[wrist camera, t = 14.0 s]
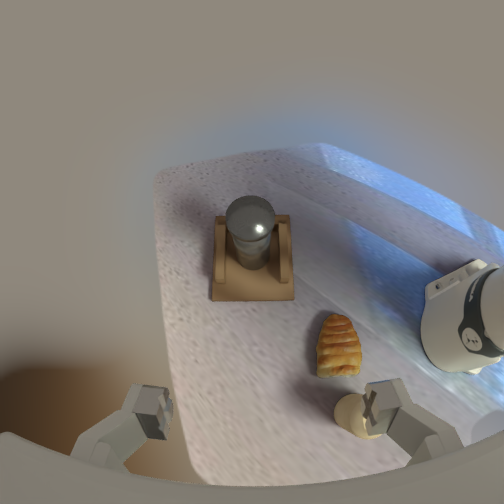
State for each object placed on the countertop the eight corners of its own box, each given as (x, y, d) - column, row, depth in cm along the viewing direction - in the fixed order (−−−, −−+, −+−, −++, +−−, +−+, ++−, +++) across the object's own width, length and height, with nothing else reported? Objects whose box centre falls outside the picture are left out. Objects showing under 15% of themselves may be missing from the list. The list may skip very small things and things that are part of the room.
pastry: (312, 317, 44) (317, 311, 40) (355, 314, 44) (363, 309, 40) (315, 380, 40) (320, 380, 37) (359, 375, 40) (368, 375, 36)
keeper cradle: (216, 218, 50) (213, 208, 47) (288, 217, 50) (290, 206, 47) (212, 301, 45) (209, 295, 42) (293, 300, 45) (296, 294, 42)
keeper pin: (260, 231, 48) (260, 188, 37) (279, 262, 46) (284, 224, 35) (227, 247, 47) (217, 208, 36) (245, 279, 45) (239, 247, 34)
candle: (332, 396, 39) (352, 400, 30) (368, 390, 39) (396, 393, 30) (333, 431, 37) (353, 445, 27) (369, 425, 37) (397, 436, 27)
